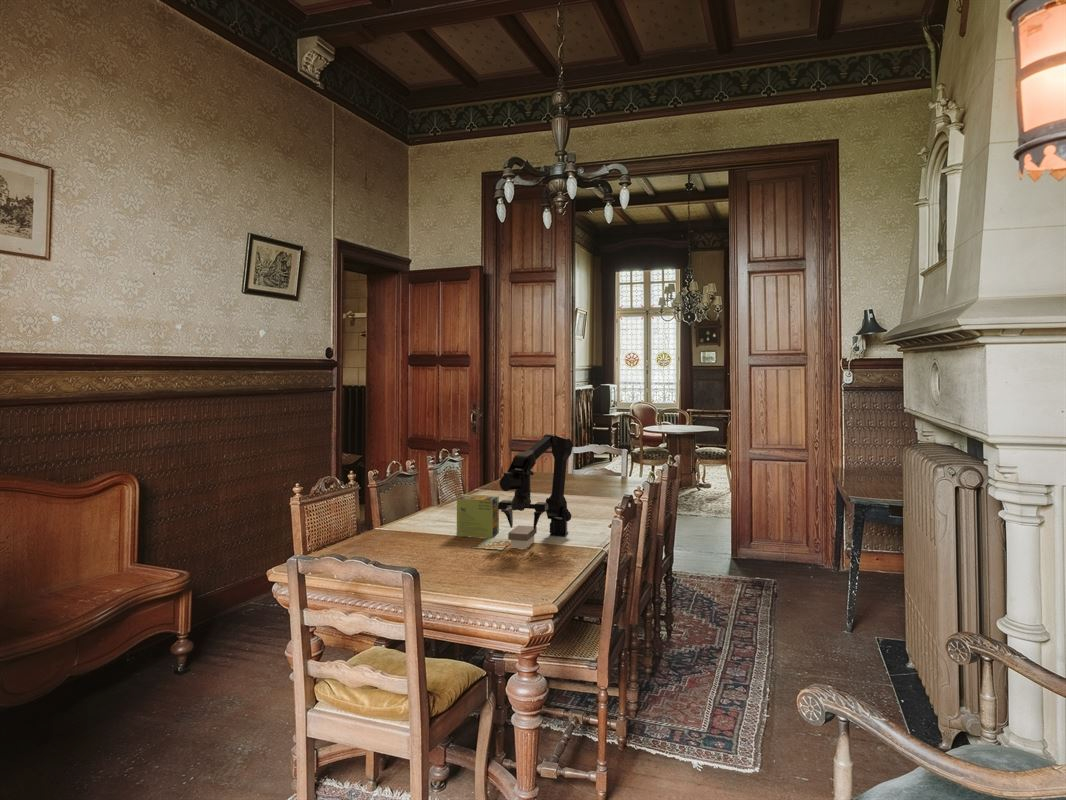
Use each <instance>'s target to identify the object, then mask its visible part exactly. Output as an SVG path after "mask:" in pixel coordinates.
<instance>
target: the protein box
mask: <svg viewBox="0 0 1066 800" xmlns="http://www.w3.org/2000/svg"><path fill="white" fill-rule="evenodd" d="M499 502H500V496H499V495H489V494H488V495H487V494H486V495H484V494H463V495H461V496H460V497H458V498H456V537H462V536H471V537H470V538H479V537H486V538H485V539H487V538H495V536H497V535H498V534H499V533H500V513H499V512H500V510H499V509H498V503H499Z"/></svg>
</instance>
